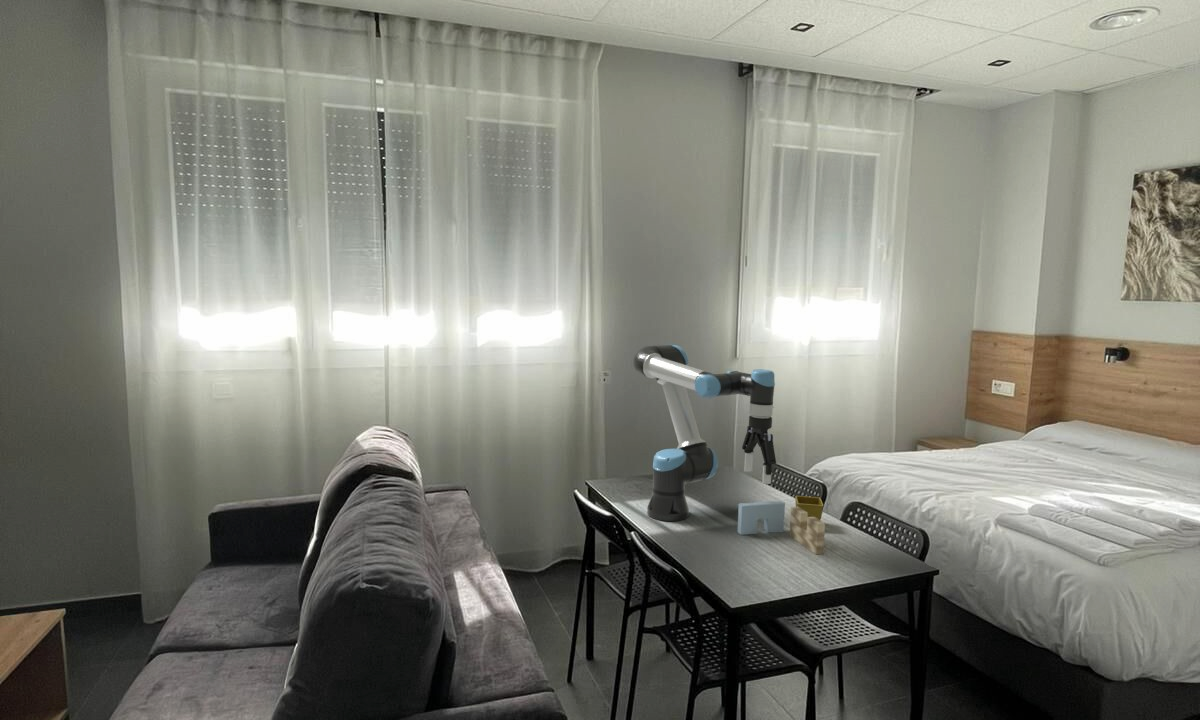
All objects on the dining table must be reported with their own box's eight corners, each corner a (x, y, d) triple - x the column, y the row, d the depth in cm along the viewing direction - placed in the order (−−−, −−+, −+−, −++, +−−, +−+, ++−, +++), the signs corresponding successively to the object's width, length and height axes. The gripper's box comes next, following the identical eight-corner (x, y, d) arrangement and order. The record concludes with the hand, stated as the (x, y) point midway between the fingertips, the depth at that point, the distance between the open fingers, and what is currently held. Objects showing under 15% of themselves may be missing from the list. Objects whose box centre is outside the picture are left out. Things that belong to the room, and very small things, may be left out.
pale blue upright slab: (740, 534, 220) (741, 506, 219) (737, 532, 222) (738, 503, 221) (783, 531, 224) (784, 503, 222) (779, 528, 226) (781, 500, 225)
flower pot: (822, 530, 225) (823, 505, 224) (796, 528, 227) (797, 503, 226) (819, 521, 234) (820, 497, 233) (793, 519, 235) (795, 495, 235)
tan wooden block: (823, 554, 205) (825, 523, 204) (816, 554, 204) (817, 523, 203) (796, 535, 220) (797, 506, 219) (789, 535, 219) (791, 507, 218)
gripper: (789, 423, 207) (785, 488, 209) (754, 408, 231) (750, 466, 233) (768, 424, 205) (764, 489, 208) (734, 408, 229) (731, 467, 232)
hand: (757, 477), depth 221 cm, fingers open, 13 cm apart
